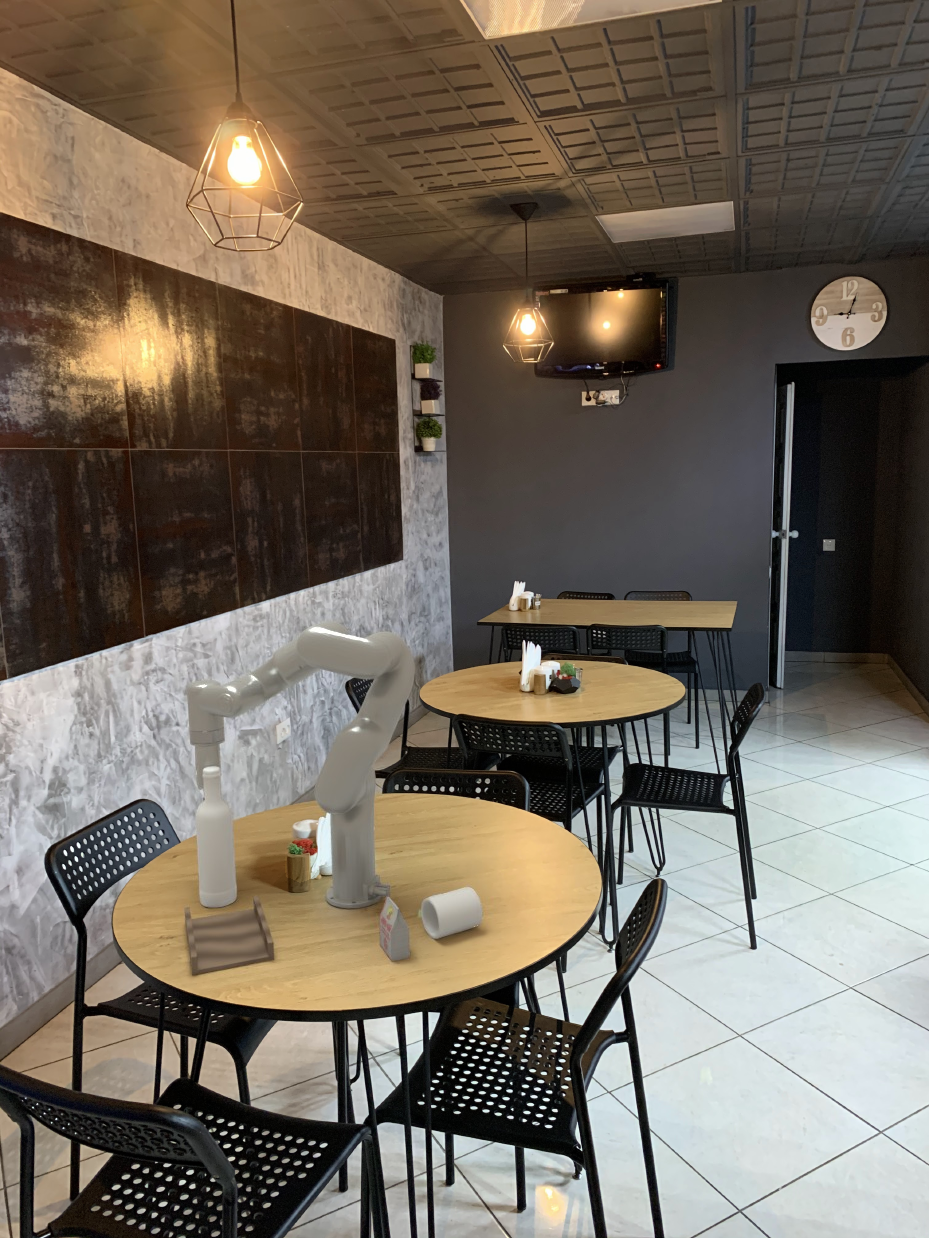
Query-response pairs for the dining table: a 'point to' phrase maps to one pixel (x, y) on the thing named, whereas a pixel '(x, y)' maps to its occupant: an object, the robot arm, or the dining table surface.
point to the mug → (451, 912)
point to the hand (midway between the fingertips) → (211, 814)
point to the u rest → (228, 939)
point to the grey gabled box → (393, 932)
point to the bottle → (215, 844)
